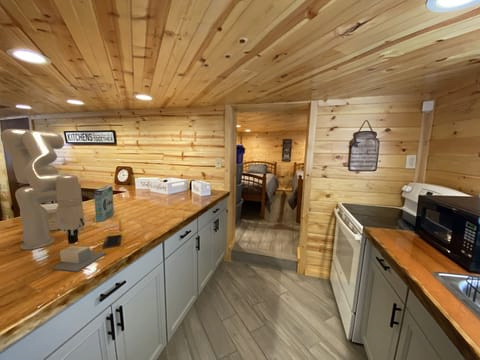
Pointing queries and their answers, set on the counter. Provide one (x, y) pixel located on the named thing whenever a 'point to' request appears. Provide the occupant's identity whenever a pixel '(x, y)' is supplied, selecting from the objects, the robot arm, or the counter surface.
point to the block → (75, 254)
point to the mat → (78, 266)
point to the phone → (112, 241)
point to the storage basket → (51, 215)
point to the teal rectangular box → (103, 203)
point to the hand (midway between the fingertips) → (73, 242)
